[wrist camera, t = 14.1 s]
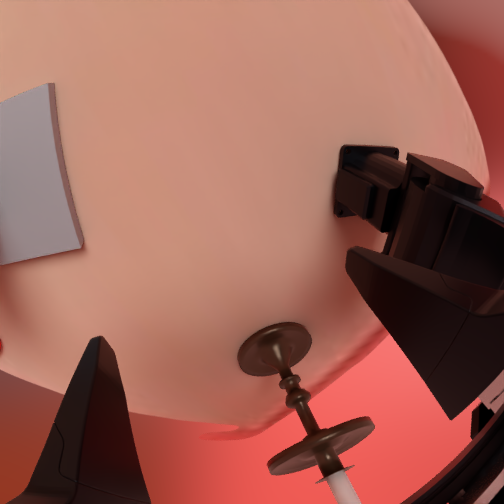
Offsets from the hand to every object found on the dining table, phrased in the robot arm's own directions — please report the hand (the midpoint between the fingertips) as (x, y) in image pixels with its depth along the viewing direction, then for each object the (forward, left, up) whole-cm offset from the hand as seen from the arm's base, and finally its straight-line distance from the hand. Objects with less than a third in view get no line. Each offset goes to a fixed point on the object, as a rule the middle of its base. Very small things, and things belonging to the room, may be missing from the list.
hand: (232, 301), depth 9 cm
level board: (+18, -3, -13) cm, 22 cm away
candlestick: (-7, +21, -13) cm, 26 cm away
